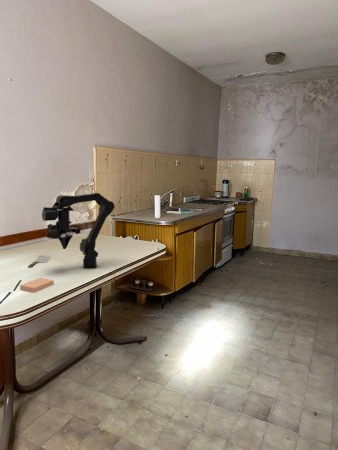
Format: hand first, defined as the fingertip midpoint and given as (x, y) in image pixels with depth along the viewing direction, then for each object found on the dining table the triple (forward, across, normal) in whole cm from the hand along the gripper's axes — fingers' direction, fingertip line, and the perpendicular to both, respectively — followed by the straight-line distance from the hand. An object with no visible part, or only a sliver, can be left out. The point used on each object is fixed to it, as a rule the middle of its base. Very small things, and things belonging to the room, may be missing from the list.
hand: (64, 248), depth 171 cm
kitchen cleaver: (+13, -6, -24) cm, 28 cm away
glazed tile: (+11, +18, +6) cm, 23 cm away
